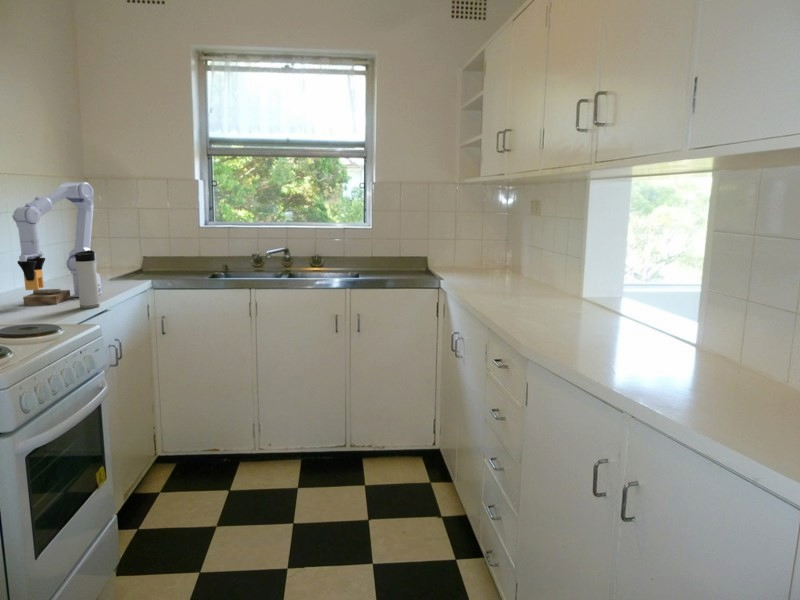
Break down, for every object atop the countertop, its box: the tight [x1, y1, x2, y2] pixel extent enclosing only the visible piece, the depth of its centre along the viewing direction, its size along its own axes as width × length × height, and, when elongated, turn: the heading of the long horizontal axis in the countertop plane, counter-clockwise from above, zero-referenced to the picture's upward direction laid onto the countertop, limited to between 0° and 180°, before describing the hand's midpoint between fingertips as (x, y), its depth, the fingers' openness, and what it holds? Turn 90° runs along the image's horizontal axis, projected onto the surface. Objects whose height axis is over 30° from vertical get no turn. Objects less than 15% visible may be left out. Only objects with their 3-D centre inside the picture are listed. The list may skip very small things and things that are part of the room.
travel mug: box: [75, 249, 101, 310], centre depth 216 cm, size 6×7×20 cm
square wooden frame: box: [22, 288, 72, 306], centre depth 229 cm, size 11×14×5 cm
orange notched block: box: [23, 269, 45, 291], centre depth 218 cm, size 4×5×6 cm
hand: (33, 279), depth 218 cm, fingers closed on orange notched block, 5 cm apart
